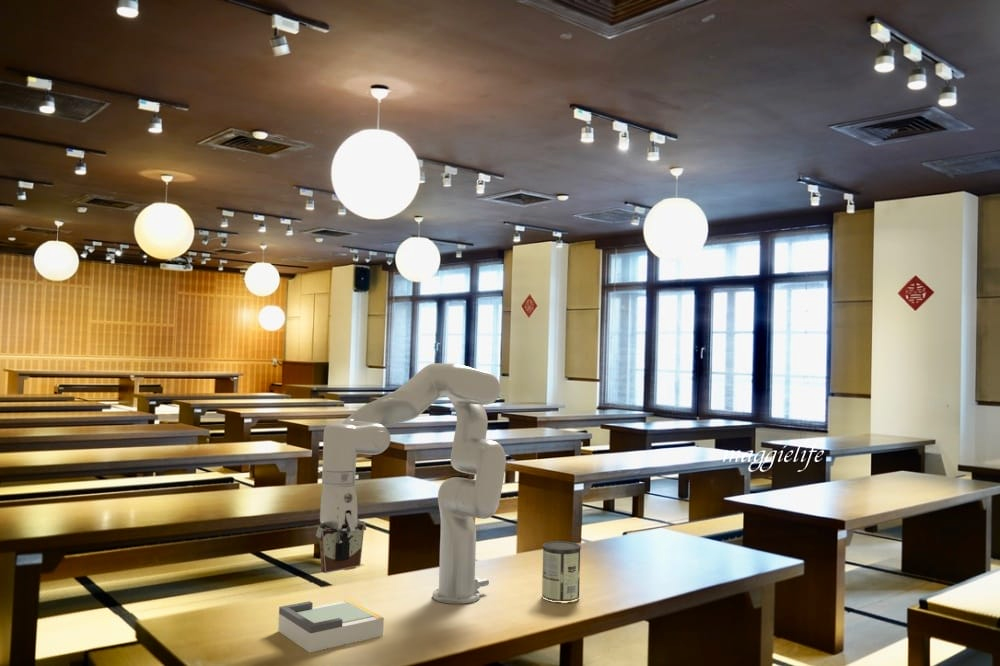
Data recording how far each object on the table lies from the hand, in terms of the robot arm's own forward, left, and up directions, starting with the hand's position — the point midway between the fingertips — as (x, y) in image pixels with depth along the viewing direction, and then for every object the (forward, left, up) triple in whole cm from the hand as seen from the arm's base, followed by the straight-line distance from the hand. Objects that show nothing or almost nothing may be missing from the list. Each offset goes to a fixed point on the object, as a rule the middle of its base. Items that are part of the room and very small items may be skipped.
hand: (335, 556), depth 177 cm
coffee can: (-62, +10, -17) cm, 66 cm away
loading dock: (+1, 0, -17) cm, 17 cm away
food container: (0, -1, -3) cm, 3 cm away
